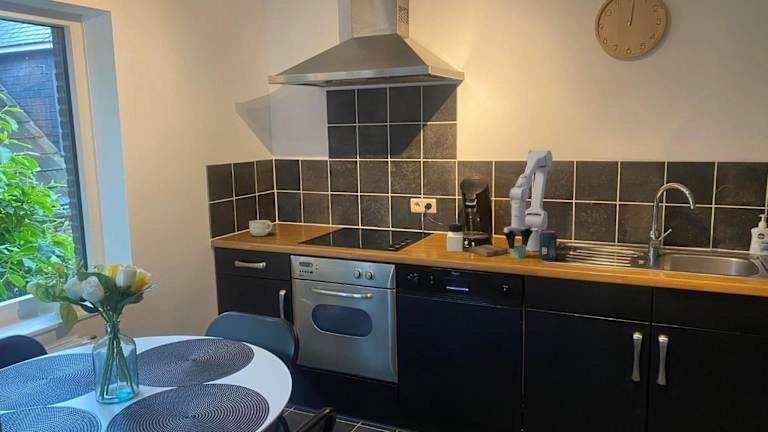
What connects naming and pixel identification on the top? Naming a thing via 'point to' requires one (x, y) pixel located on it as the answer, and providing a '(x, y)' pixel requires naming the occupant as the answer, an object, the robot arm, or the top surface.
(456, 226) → the medicine bottle
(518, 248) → the teal block
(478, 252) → the walnut base
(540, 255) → the soda can
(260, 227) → the teacup
